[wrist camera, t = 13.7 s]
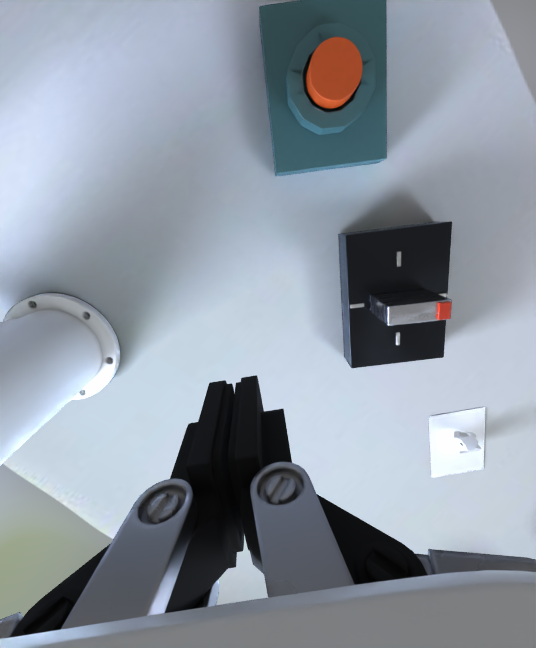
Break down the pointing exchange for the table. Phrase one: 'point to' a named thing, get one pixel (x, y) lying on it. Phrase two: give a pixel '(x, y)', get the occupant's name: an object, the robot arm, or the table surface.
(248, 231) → the table surface
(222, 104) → the table surface
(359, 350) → the dial panel
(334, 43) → the button
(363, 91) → the button housing
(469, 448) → the adhesive hook
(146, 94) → the table surface
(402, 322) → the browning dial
